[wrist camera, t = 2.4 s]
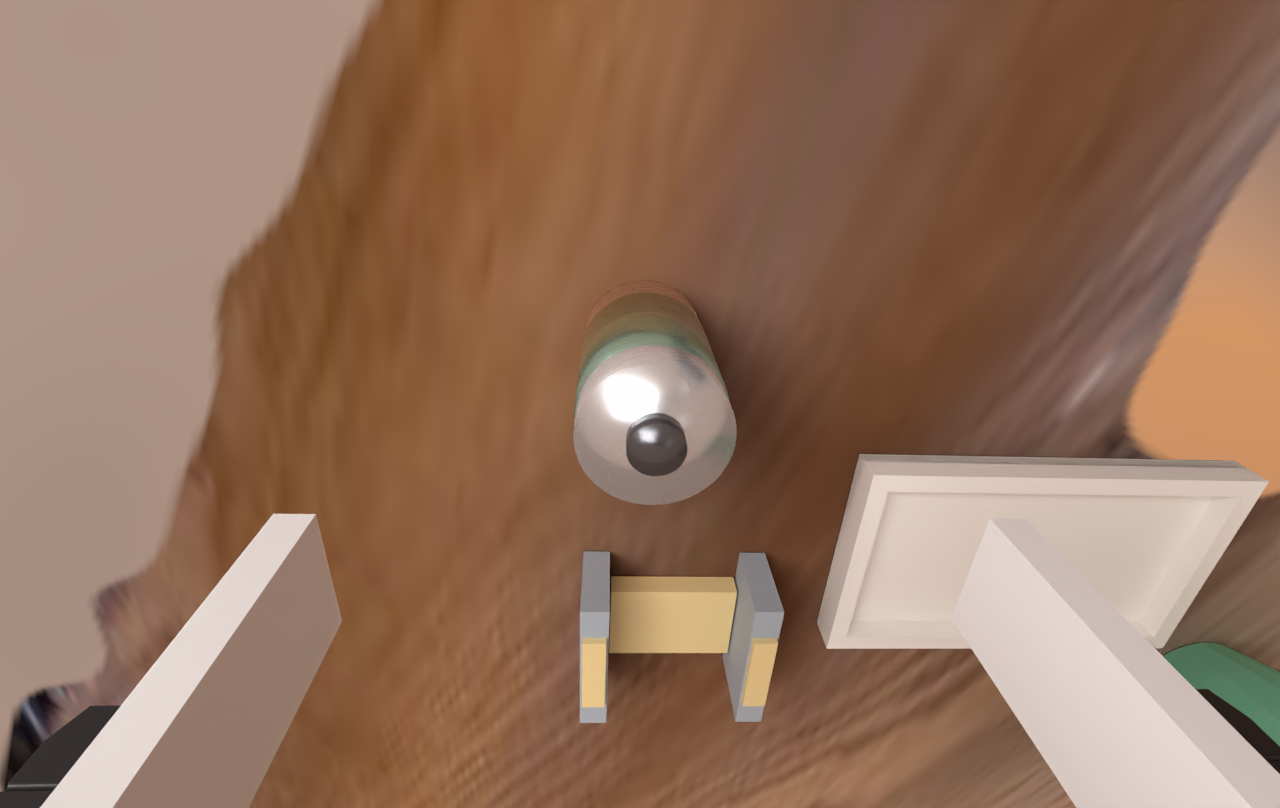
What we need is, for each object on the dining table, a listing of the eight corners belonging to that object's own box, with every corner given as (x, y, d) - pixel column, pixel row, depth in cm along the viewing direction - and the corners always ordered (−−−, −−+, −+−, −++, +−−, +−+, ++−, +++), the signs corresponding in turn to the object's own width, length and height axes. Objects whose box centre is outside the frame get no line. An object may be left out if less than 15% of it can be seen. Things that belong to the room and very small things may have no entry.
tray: (859, 453, 26) (873, 475, 24) (1234, 460, 27) (1269, 481, 25) (816, 622, 30) (826, 648, 29) (1137, 623, 31) (1162, 648, 30)
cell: (583, 277, 22) (569, 369, 15) (707, 281, 22) (753, 374, 15) (583, 389, 24) (570, 518, 17) (696, 391, 24) (732, 520, 17)
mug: (1205, 583, 30) (1452, 789, 21) (1319, 644, 33) (1582, 850, 24) (996, 748, 36) (1122, 964, 27) (1107, 789, 38) (1256, 998, 30)
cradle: (583, 551, 28) (579, 617, 24) (764, 552, 28) (786, 618, 25) (583, 657, 31) (579, 729, 27) (745, 657, 31) (762, 727, 28)
